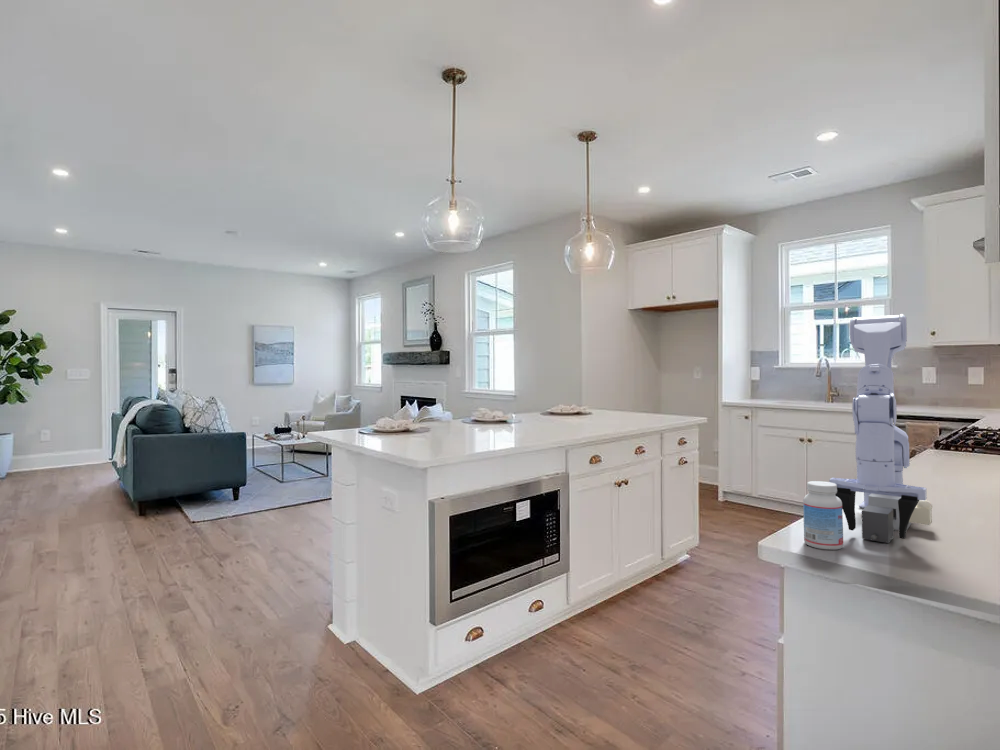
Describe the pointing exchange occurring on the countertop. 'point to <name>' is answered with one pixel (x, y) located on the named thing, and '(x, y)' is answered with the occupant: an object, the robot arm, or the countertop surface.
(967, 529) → the countertop surface
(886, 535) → the block
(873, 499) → the socket cube
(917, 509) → the night light
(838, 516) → the pill bottle
